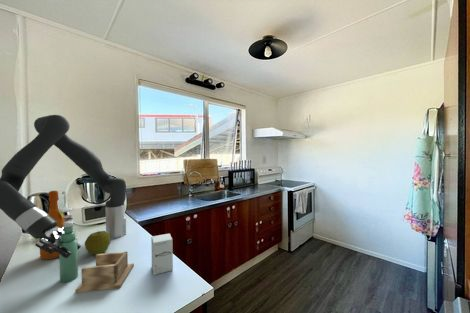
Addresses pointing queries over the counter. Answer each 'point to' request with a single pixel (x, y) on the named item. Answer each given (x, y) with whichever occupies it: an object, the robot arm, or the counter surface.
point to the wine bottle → (57, 216)
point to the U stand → (105, 272)
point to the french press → (66, 209)
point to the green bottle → (71, 263)
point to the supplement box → (162, 253)
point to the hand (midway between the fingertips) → (74, 251)
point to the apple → (97, 242)
